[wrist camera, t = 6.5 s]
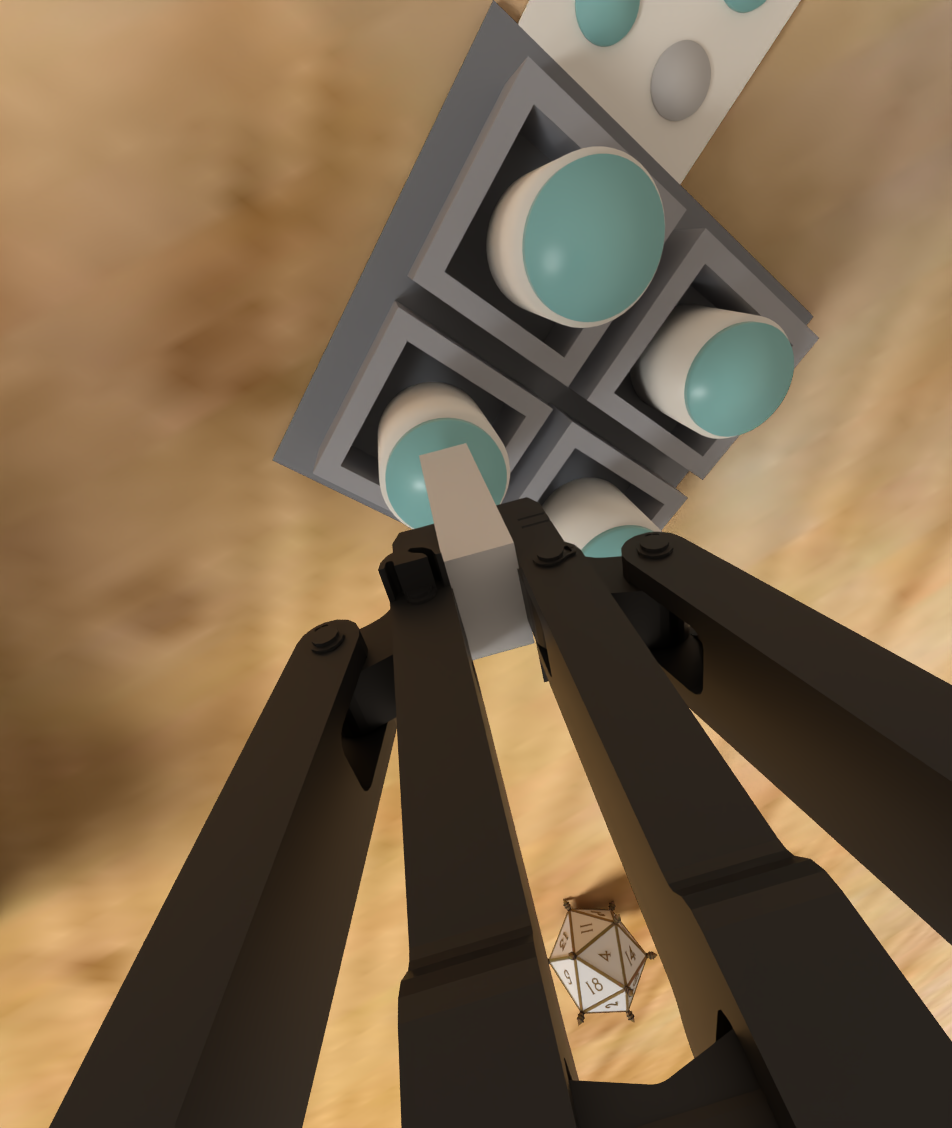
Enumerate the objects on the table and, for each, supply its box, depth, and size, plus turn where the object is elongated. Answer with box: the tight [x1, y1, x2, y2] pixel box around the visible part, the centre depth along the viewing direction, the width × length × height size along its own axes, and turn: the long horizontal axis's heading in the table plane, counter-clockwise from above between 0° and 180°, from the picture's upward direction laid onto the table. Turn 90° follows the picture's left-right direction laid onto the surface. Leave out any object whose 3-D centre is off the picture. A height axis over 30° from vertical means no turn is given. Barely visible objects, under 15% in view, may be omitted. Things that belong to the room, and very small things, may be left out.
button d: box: [378, 382, 510, 529], centre depth 20 cm, size 4×4×5 cm
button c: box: [486, 146, 665, 328], centre depth 17 cm, size 4×4×5 cm
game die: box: [548, 899, 657, 1026], centre depth 46 cm, size 9×8×10 cm
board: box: [273, 0, 819, 530], centre depth 23 cm, size 18×18×4 cm
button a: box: [630, 304, 794, 439], centre depth 22 cm, size 4×4×5 cm
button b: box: [542, 478, 662, 558], centre depth 23 cm, size 4×4×5 cm
